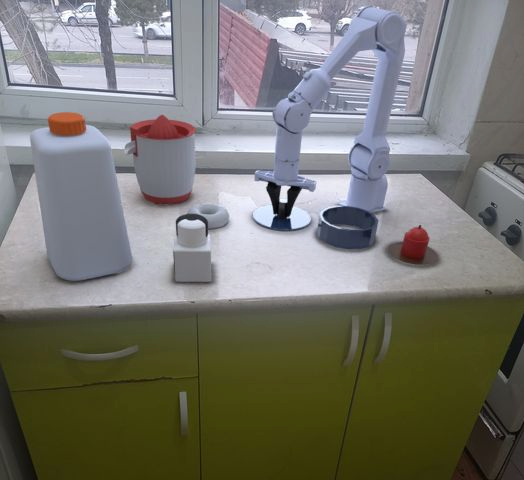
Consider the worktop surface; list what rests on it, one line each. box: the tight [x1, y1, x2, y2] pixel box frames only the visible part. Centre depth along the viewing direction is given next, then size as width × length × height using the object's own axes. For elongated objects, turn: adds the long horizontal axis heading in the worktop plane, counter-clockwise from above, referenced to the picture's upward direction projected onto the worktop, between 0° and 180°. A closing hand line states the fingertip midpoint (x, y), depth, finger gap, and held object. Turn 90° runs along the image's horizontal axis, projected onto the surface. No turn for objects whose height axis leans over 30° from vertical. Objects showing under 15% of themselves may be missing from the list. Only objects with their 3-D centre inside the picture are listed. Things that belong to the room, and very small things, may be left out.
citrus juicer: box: [123, 114, 197, 205], centre depth 126 cm, size 16×17×20 cm
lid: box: [252, 198, 312, 232], centre depth 124 cm, size 14×14×5 cm
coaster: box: [387, 241, 438, 266], centre depth 116 cm, size 11×11×1 cm
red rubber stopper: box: [401, 224, 430, 258], centre depth 113 cm, size 5×5×7 cm
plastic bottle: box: [29, 111, 133, 282], centre depth 96 cm, size 15×15×28 cm
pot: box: [316, 205, 379, 250], centre depth 119 cm, size 13×13×5 cm
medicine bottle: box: [172, 213, 212, 283], centre depth 100 cm, size 7×7×12 cm
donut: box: [186, 202, 230, 230], centre depth 121 cm, size 10×4×10 cm
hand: (282, 214), depth 125 cm, fingers closed on lid, 2 cm apart
